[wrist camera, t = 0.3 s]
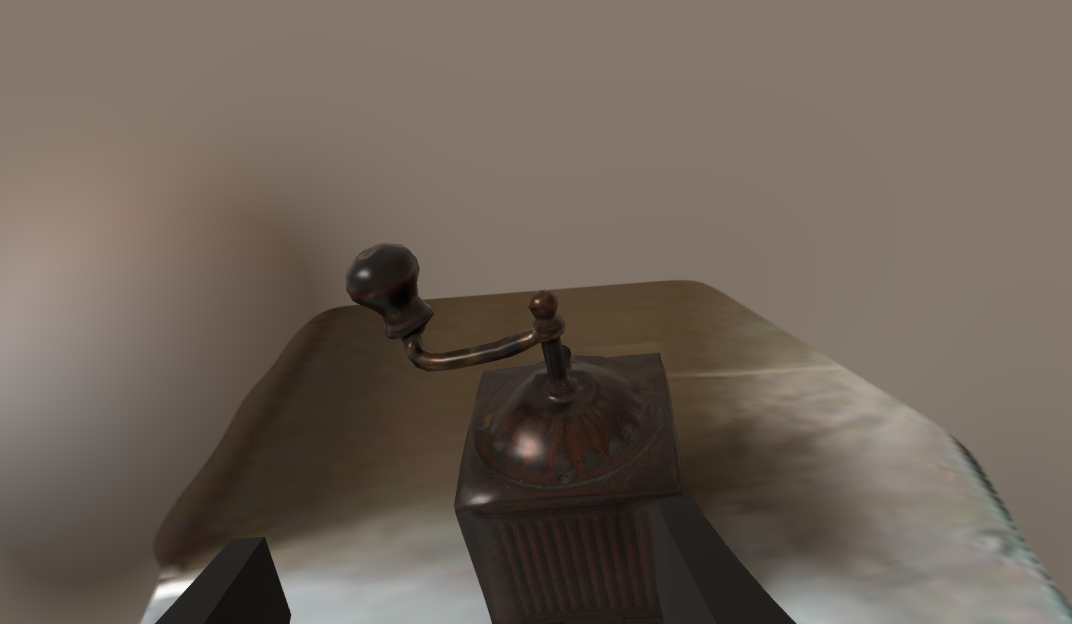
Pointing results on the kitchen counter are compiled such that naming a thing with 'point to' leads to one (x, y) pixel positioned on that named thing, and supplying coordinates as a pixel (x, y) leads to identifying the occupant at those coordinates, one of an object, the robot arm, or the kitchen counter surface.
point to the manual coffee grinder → (548, 460)
